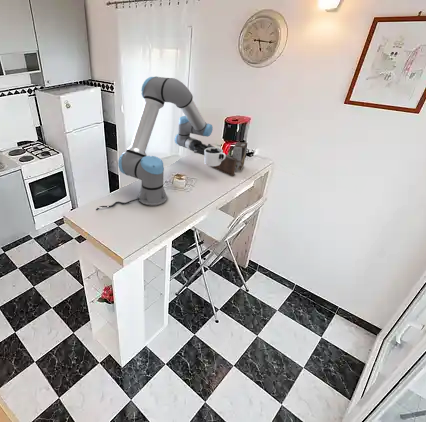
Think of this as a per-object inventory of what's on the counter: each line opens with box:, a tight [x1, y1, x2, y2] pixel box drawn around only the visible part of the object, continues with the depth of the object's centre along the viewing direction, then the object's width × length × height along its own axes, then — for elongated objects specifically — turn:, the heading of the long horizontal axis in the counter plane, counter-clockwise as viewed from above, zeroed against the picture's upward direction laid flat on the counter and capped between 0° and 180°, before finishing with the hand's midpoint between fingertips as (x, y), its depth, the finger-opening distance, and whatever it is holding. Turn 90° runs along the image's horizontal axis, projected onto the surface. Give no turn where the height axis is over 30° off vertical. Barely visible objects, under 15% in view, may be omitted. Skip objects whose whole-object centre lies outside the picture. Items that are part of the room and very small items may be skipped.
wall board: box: [209, 154, 237, 177], centre depth 183 cm, size 18×3×11 cm, turn 32°
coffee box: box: [231, 141, 248, 173], centre depth 183 cm, size 9×6×16 cm
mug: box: [203, 146, 227, 167], centre depth 172 cm, size 13×10×8 cm
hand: (222, 156), depth 167 cm, fingers closed on mug, 2 cm apart
